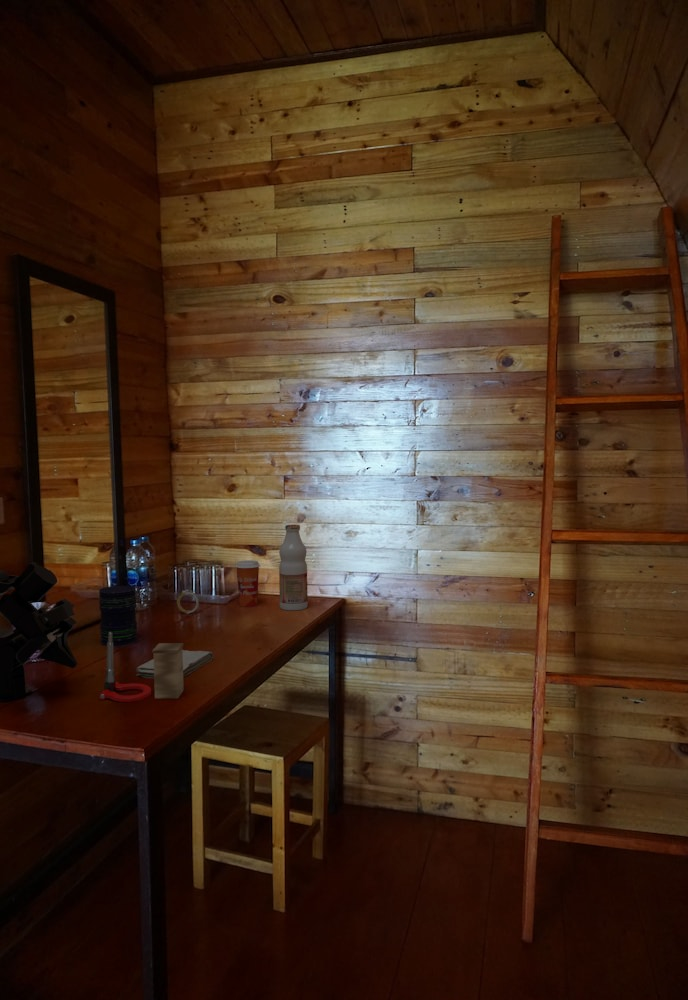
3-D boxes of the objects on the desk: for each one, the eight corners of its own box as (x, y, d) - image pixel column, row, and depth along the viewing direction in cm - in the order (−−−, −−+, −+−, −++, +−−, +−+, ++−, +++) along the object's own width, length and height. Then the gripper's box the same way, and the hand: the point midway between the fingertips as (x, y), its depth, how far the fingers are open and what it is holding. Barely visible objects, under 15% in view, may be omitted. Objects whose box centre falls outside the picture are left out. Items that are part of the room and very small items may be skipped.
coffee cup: (234, 607, 230) (233, 563, 229) (238, 602, 239) (238, 559, 238) (258, 607, 230) (258, 563, 229) (262, 602, 238) (261, 559, 237)
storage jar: (94, 646, 186) (92, 581, 185) (108, 636, 196) (106, 574, 194) (130, 646, 186) (128, 581, 184) (142, 636, 195) (140, 574, 194)
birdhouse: (153, 698, 147) (152, 650, 146) (164, 684, 156) (163, 638, 155) (178, 698, 147) (177, 650, 146) (188, 684, 156) (187, 638, 155)
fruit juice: (274, 607, 230) (272, 525, 228) (295, 603, 236) (294, 523, 234) (291, 612, 223) (290, 527, 221) (313, 607, 230) (312, 525, 228)
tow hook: (157, 690, 153) (115, 686, 154) (158, 629, 152) (115, 626, 153) (141, 705, 144) (96, 701, 145) (142, 641, 143) (96, 638, 144)
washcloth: (133, 679, 161) (132, 666, 161) (172, 656, 178) (172, 645, 178) (178, 683, 158) (177, 670, 157) (214, 660, 175) (213, 648, 174)
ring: (176, 614, 222) (175, 590, 221) (179, 612, 225) (179, 588, 224) (196, 614, 221) (196, 590, 220) (200, 612, 224) (199, 588, 224)
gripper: (29, 599, 138) (84, 653, 139) (67, 582, 157) (115, 629, 158) (-9, 637, 139) (47, 691, 140) (33, 615, 158) (82, 662, 158)
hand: (75, 666), depth 149 cm, fingers closed
